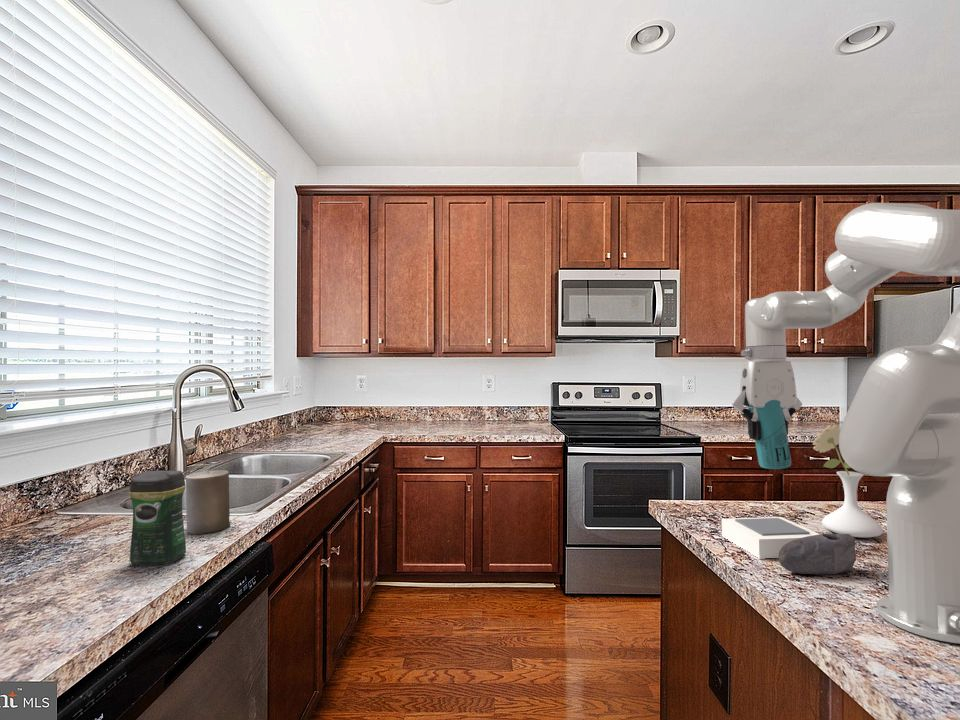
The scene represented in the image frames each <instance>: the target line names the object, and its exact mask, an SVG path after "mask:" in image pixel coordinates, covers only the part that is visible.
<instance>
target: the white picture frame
mask: <svg viewBox="0 0 960 720" xmlns="http://www.w3.org/2000/svg"><path fill="white" fill-rule="evenodd" d="M819 534H820V533H818V532H816V531H813V530H812V529H809V528H807V527H804V526H802V525H800V524H798V523H796V522H793V521H791V520H790V519H787V518H785V517H782V516H767V517H766V516H765V517H763V516H762V517H737V518H735V517H733V518H729V517H728V518H721V537H723V538H725V539H726V540H727V539H728V541H729V542H730V543H732V542H733V543H732V544H734V545H735V544H736V546H737V547H739V548H740V547H741V548H740V549H742V548H743V549H745V550H746V552H747V551H748V552H750V553H751V554H750V553H749V554H750V555H752V554H753V555H754V556H753V555H752V556H753V557H755V556H756V557H758V558H759V559H758V558H757V559H758V560H766V559H765V558H778V556H779V551H780V550H781V548H782V547H783V546H784V545H785V544H787V543H788V542H790V541H793V540H796V539H799V538H803V537H807V536H813V535H819ZM743 549H742V550H743ZM745 550H744V551H745ZM748 552H747V553H748ZM756 557H755V558H756Z"/></svg>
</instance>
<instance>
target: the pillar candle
mask: <svg viewBox="0 0 960 720" xmlns="http://www.w3.org/2000/svg"><path fill="white" fill-rule="evenodd" d="M185 493H186V494H185V496H186V497H185V501H186V507H185V508H186V511H185V514H186V533H188V534H191V535H203V534H210V533H211V534H212V533H214V532H220V531H223V530H225V529H226V530H227V528H229V527H230V526H231V523H230V518H231V517H230V515H231V514H230V513H231V512H230V473H229V471H228V470H223V469H222V470H221V469H217V470H210V469H209V468H207V470H206V471H200V472H194V473H191V474H188V475H186V476H185Z"/></svg>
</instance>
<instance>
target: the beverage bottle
mask: <svg viewBox="0 0 960 720" xmlns="http://www.w3.org/2000/svg"><path fill="white" fill-rule="evenodd" d="M780 404H781V402H780V401H778V400H771V401H768V402H767V403H766V404H765V407H763V408H757V414H758V420H757V421H759V422H760V424H761V440H754V445H755V452H756V453H755V454H756V458H757V463H758V465H759V466H760V468H763V469H766V470H767V469H768V470H783V469H787V468H789V467H791V466H792V454H791V447H790V443H789V437H788V435H787V432H786V425H785V419H784V415H785V414H783V408H782V407H781V406H780ZM749 406H750V407H753V406H752V405H750V404H749ZM750 410H751V413H752V412H753V409H750Z"/></svg>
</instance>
